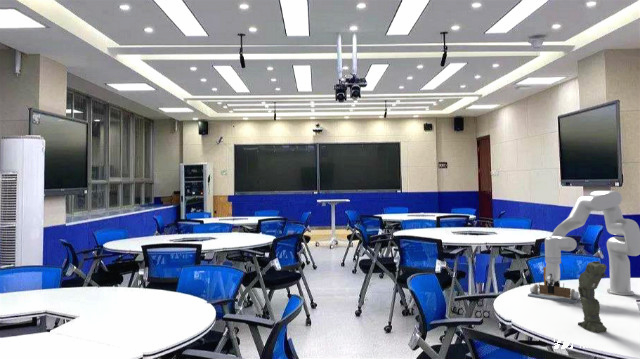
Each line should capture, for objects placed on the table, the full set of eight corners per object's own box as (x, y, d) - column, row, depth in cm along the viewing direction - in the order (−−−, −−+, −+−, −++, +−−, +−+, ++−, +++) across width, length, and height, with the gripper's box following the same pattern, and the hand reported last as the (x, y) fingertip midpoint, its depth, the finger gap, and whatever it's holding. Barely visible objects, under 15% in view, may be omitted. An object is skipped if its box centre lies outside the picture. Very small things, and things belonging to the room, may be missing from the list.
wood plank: (538, 293, 235) (538, 284, 235) (539, 293, 236) (539, 284, 236) (570, 298, 224) (569, 288, 224) (571, 297, 226) (570, 288, 226)
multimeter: (571, 290, 247) (570, 255, 248) (563, 292, 241) (562, 257, 242) (546, 285, 259) (545, 253, 260) (537, 288, 254) (536, 254, 254)
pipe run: (535, 292, 243) (535, 281, 243) (581, 299, 227) (580, 287, 227) (527, 296, 234) (527, 285, 234) (574, 303, 218) (574, 291, 218)
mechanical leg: (569, 320, 188) (578, 256, 181) (584, 319, 188) (594, 256, 182) (591, 338, 174) (602, 270, 168) (607, 337, 175) (619, 269, 168)
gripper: (550, 257, 240) (551, 287, 239) (540, 261, 228) (541, 293, 227) (565, 258, 235) (566, 289, 234) (555, 262, 222) (556, 295, 222)
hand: (553, 291), depth 231 cm, fingers open, 9 cm apart
